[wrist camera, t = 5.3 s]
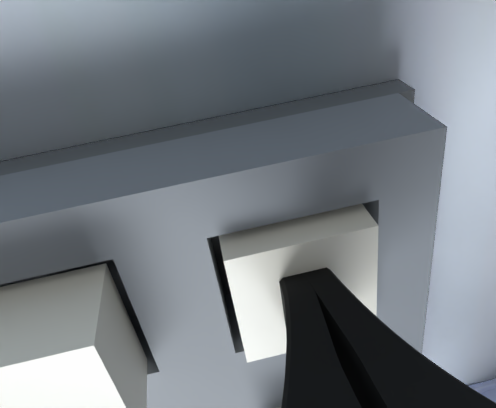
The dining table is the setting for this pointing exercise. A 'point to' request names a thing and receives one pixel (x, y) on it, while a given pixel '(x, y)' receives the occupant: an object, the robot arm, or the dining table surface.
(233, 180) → the button board
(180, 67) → the dining table surface
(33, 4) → the dining table surface
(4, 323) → the button
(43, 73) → the dining table surface
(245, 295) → the button
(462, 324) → the dining table surface
